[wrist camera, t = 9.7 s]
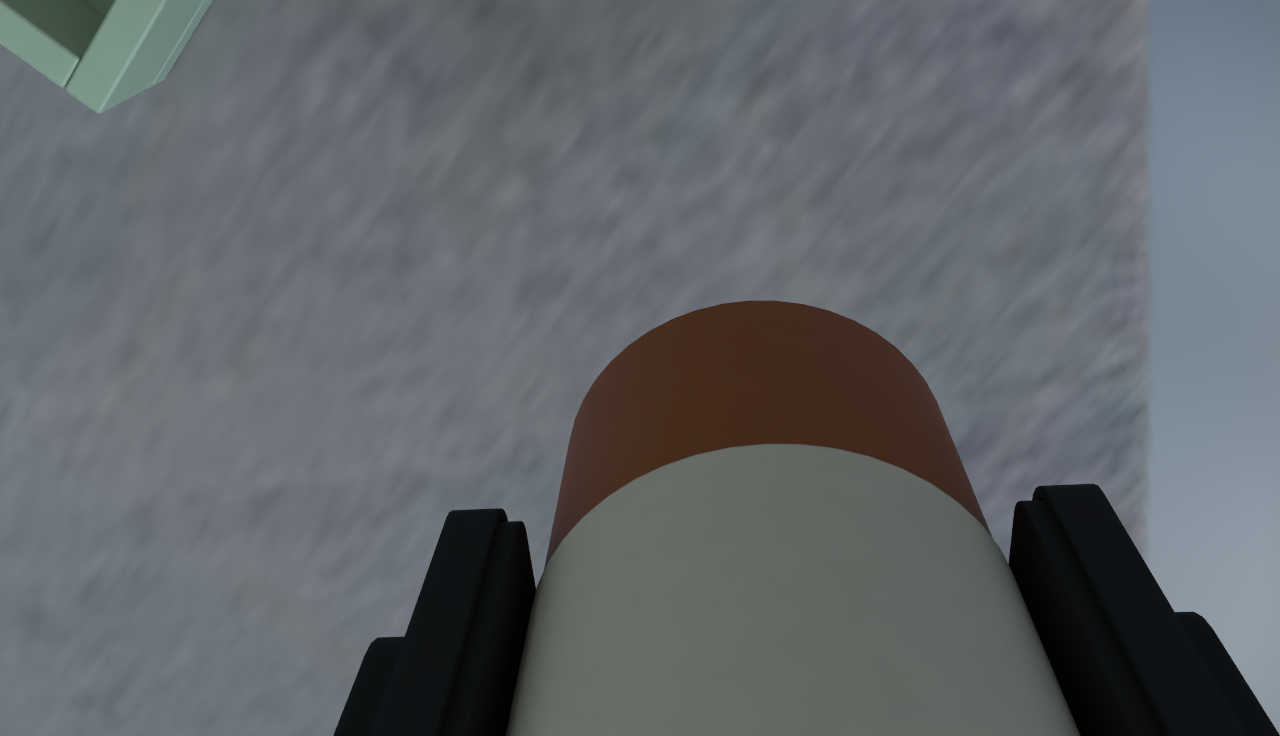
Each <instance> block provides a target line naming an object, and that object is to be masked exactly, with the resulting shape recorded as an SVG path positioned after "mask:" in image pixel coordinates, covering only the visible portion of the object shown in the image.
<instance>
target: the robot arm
mask: <svg viewBox="0 0 1280 736" xmlns="http://www.w3.org/2000/svg"><path fill="white" fill-rule="evenodd" d="M1009 566H1010V568H1011V570H1012V572H1013V575H1014V577H1015V580H1016V582H1017V584H1018V587H1019V589H1020V592H1021V594H1022V596H1023V599H1024V601H1025V604H1026V606H1027V608H1028V611H1029V613H1030V616H1031V618H1032V620H1033V623H1034V625H1035V628H1036V630H1037V632H1038V635H1039V637H1040V640H1041V642H1042V644H1043V647H1044V649H1045V652H1046V654H1047V656H1048V659H1049V661H1050V664H1051V666H1052V668H1053V671H1054V673H1055V676H1056V678H1057V680H1058V683H1059V685H1060V688H1061V690H1062V692H1063V695H1064V697H1065V700H1066V702H1067V704H1068V707H1069V709H1070V712H1071V714H1072V717H1073V719H1074V721H1075V724H1076V726H1077V729H1078V731H1079V733H1080V736H1280V735H1279V733H1278V732H1277V730H1276V729H1275V727H1274V725H1273V724H1272V722H1271V721H1270V719H1269V717H1268V716H1267V715H1266V713H1265V711H1264V710H1263V708H1262V706H1261V705H1260V703H1259V702H1258V700H1257V698H1256V697H1255V695H1254V694H1253V692H1252V690H1251V689H1250V687H1249V686H1248V684H1247V683H1246V681H1245V680H1244V678H1243V676H1242V675H1241V673H1240V671H1239V670H1238V668H1237V667H1236V665H1235V664H1234V662H1233V660H1232V659H1231V657H1230V656H1229V654H1228V652H1227V651H1226V649H1225V648H1224V646H1223V644H1222V643H1221V642H1220V640H1219V638H1218V637H1217V635H1216V633H1215V632H1214V630H1213V629H1212V627H1211V626H1210V625H1209V624H1208V623H1207V621H1206V620H1205V619H1204V618H1203V617H1202V616H1200V615H1199V614H1197V613H1195V612H1174V610H1173V609H1172V607H1171V605H1170V604H1169V602H1168V600H1167V599H1166V597H1165V595H1164V594H1163V592H1162V590H1161V589H1160V587H1159V585H1158V584H1157V582H1156V580H1155V578H1154V577H1153V575H1152V573H1151V572H1150V570H1149V568H1148V567H1147V565H1146V563H1145V562H1144V560H1143V558H1142V557H1141V555H1140V553H1139V552H1138V550H1137V548H1136V547H1135V545H1134V543H1133V542H1132V540H1131V538H1130V537H1129V535H1128V533H1127V532H1126V530H1125V528H1124V526H1123V525H1122V523H1121V521H1120V520H1119V518H1118V516H1117V515H1116V513H1115V511H1114V510H1113V508H1112V506H1111V505H1110V503H1109V501H1108V500H1107V498H1106V496H1105V495H1104V493H1103V491H1102V490H1101V489H1100V488H1099V486H1098V485H1095V484H1077V485H1052V486H1039V487H1037V488H1036V489H1035V492H1034V494H1033V498H1032V501H1019V502H1017V504H1016V506H1015V511H1014V518H1013V528H1012V537H1011V547H1010V557H1009ZM535 593H536V587H535V581H534V575H533V569H532V563H531V557H530V551H529V545H528V539H527V533H526V528H525V525H524V523H523V522H522V521H515V522H508V519H507V515H506V513H505V511H504V510H503V509H502V508H499V509H475V510H452V511H451V512H449V514H448V516H447V518H446V520H445V523H444V526H443V529H442V532H441V535H440V538H439V540H438V543H437V546H436V549H435V552H434V555H433V558H432V560H431V563H430V566H429V569H428V572H427V575H426V577H425V580H424V583H423V586H422V589H421V592H420V595H419V597H418V600H417V603H416V606H415V609H414V612H413V615H412V617H411V620H410V623H409V626H408V629H407V632H406V635H405V637H381V638H377V639H375V640H374V641H373V642H372V643H371V644H370V646H369V648H368V650H367V652H366V654H365V656H364V659H363V661H362V664H361V666H360V669H359V671H358V674H357V677H356V679H355V682H354V684H353V687H352V689H351V692H350V695H349V697H348V700H347V702H346V705H345V707H344V710H343V712H342V715H341V718H340V720H339V723H338V725H337V728H336V730H335V733H334V736H505V735H506V730H507V725H508V720H509V715H510V710H511V705H512V700H513V696H514V691H515V686H516V681H517V676H518V671H519V666H520V661H521V656H522V652H523V647H524V642H525V637H526V632H527V627H528V622H529V617H530V612H531V608H532V604H533V601H534V597H535Z"/></svg>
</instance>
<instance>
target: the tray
mask: <svg viewBox="0 0 1280 736" xmlns="http://www.w3.org/2000/svg"><path fill="white" fill-rule="evenodd" d="M212 1H213V0H0V44H1V45H3V46H4V47H5V48H7V49H8V50H10V51H11V52H12V53H14V54H15V55H17V56H18V57H19V58H21V59H22V60H23V61H25V62H26V63H28V64H29V65H30V66H32V67H33V68H35V69H36V70H37V71H39V72H40V73H42V74H43V75H44V76H46V77H47V78H49V79H50V80H51V81H53V82H54V83H55V84H57V85H58V86H60V87H63V88H64V87H66V88H65V90H66V91H67V92H68V93H69V94H71V95H72V96H74V97H75V98H76V99H78V100H79V101H81V102H82V103H83V104H85V105H86V106H87V107H89V108H90V109H92V110H93V111H94V112H96V113H99V114H100V113H102V112H104V111H106V110H108V109H110V108H112V107H114V106H116V105H117V104H119V103H121V102H123V101H125V100H127V99H129V98H131V97H133V96H135V95H137V94H139V93H141V92H143V91H145V90H147V89H148V88H150V87H152V86H154V85H156V84H158V83H160V82H162V81H164V80H165V78H166V76H167V75H168V73H169V71H170V70H171V68H172V67H173V65H174V63H175V62H176V60H177V58H178V57H179V55H180V53H181V52H182V50H183V49H184V47H185V45H186V44H187V42H188V40H189V39H190V37H191V36H192V34H193V32H194V31H195V29H196V27H197V26H198V24H199V22H200V21H201V19H202V18H203V16H204V14H205V13H206V11H207V9H208V8H209V6H210V5H211V3H212Z"/></svg>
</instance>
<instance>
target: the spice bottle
mask: <svg viewBox="0 0 1280 736" xmlns="http://www.w3.org/2000/svg"><path fill="white" fill-rule="evenodd" d="M505 736H1080V733H1079V731H1078V729H1077V726H1076V724H1075V721H1074V719H1073V717H1072V714H1071V712H1070V709H1069V707H1068V704H1067V702H1066V700H1065V697H1064V695H1063V692H1062V690H1061V688H1060V685H1059V683H1058V680H1057V678H1056V676H1055V673H1054V671H1053V668H1052V666H1051V664H1050V661H1049V659H1048V656H1047V654H1046V652H1045V649H1044V647H1043V644H1042V642H1041V640H1040V637H1039V635H1038V632H1037V630H1036V628H1035V625H1034V623H1033V620H1032V618H1031V616H1030V613H1029V611H1028V608H1027V606H1026V604H1025V601H1024V599H1023V596H1022V594H1021V592H1020V589H1019V587H1018V584H1017V582H1016V580H1015V577H1014V575H1013V572H1012V570H1011V568H1010V566H1009V564H1008V563H1007V561H1006V559H1005V557H1004V555H1003V553H1002V552H1001V550H1000V548H999V546H998V545H997V544H996V542H995V541H994V540H993V538H992V536H991V533H990V531H989V528H988V526H987V523H986V521H985V518H984V516H983V514H982V511H981V509H980V506H979V504H978V501H977V499H976V496H975V494H974V492H973V489H972V487H971V484H970V482H969V479H968V477H967V474H966V472H965V469H964V467H963V465H962V462H961V460H960V457H959V455H958V452H957V450H956V447H955V445H954V443H953V440H952V438H951V435H950V433H949V430H948V428H947V425H946V423H945V421H944V418H943V416H942V413H941V411H940V408H939V406H938V403H937V401H936V399H935V397H934V396H933V394H932V392H931V390H930V388H929V386H928V384H927V383H926V381H925V380H924V378H923V377H922V376H921V374H920V373H919V372H918V370H917V369H916V368H915V366H914V365H913V364H912V363H911V362H910V361H909V360H908V359H907V358H906V357H905V356H904V355H903V354H902V353H901V352H900V351H899V350H898V349H897V348H896V347H895V346H893V345H892V344H891V343H889V342H888V341H887V340H885V339H884V338H883V337H881V336H880V335H878V334H877V333H876V332H874V331H872V330H870V329H869V328H867V327H865V326H863V325H861V324H859V323H858V322H856V321H854V320H852V319H849V318H846V317H844V316H841V315H839V314H836V313H833V312H831V311H828V310H824V309H820V308H816V307H812V306H808V305H804V304H797V303H789V302H781V301H743V302H735V303H726V304H720V305H716V306H712V307H708V308H703V309H699V310H696V311H693V312H690V313H688V314H685V315H682V316H680V317H677V318H674V319H672V320H670V321H668V322H666V323H664V324H662V325H660V326H658V327H656V328H654V329H653V330H651V331H649V332H647V333H646V334H644V335H643V336H642V337H640V338H639V339H637V340H636V341H634V342H633V343H631V344H630V345H629V346H627V347H626V348H625V349H624V350H623V351H622V352H621V353H620V354H619V355H618V356H616V357H615V358H614V359H613V360H612V361H611V362H610V363H609V364H608V366H607V367H606V368H605V369H604V370H603V371H602V373H601V374H600V375H599V376H598V377H597V379H596V380H595V382H594V383H593V385H592V386H591V388H590V390H589V391H588V393H587V395H586V396H585V398H584V400H583V402H582V404H581V407H580V409H579V411H578V414H577V416H576V418H575V422H574V426H573V430H572V433H571V437H570V442H569V447H568V452H567V457H566V462H565V467H564V472H563V477H562V482H561V487H560V492H559V497H558V502H557V507H556V512H555V517H554V522H553V527H552V533H551V538H550V543H549V548H548V553H547V558H546V563H545V568H544V572H543V575H542V577H541V579H540V581H539V584H538V586H537V589H536V593H535V597H534V601H533V604H532V608H531V612H530V617H529V622H528V627H527V632H526V637H525V642H524V647H523V652H522V656H521V661H520V666H519V671H518V676H517V681H516V686H515V691H514V696H513V700H512V705H511V710H510V715H509V720H508V725H507V730H506V735H505Z"/></svg>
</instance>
